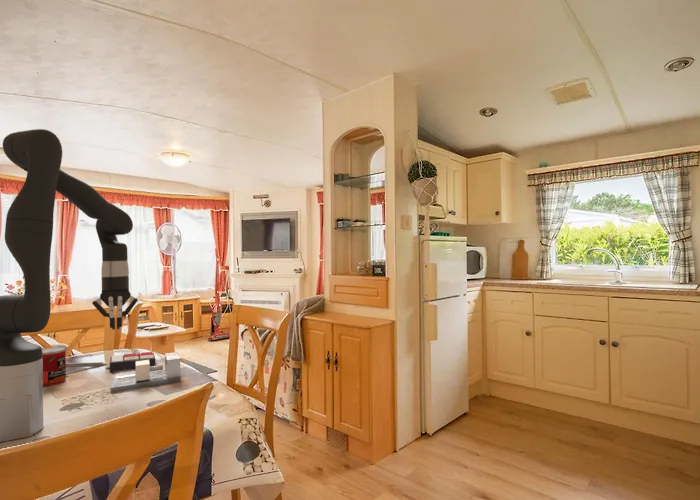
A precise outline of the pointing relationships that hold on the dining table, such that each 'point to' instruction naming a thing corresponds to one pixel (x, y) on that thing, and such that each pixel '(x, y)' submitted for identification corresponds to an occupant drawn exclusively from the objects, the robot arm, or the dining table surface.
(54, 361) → the canned food
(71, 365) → the caliper
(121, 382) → the gauge base
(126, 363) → the calculator
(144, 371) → the block
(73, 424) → the dining table surface
